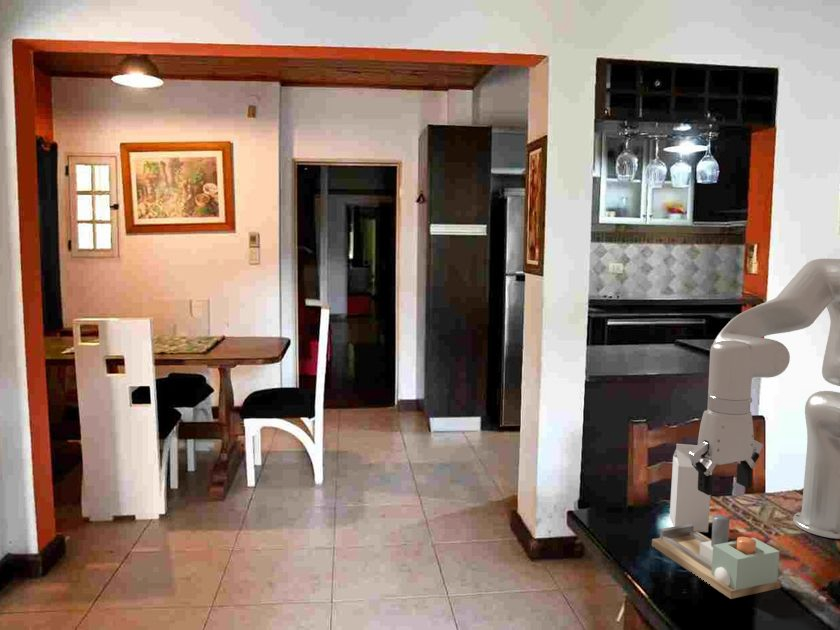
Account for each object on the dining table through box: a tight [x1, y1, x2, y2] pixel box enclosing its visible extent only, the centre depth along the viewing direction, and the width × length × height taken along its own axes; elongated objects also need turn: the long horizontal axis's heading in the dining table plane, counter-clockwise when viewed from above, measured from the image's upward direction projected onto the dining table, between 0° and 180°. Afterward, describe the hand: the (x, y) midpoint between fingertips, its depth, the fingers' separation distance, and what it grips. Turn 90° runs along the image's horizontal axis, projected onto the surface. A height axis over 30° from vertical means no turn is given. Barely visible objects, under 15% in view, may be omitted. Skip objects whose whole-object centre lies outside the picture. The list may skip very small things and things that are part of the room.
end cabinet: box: [711, 537, 780, 599], centre depth 126 cm, size 10×6×8 cm, turn 109°
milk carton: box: [669, 443, 713, 533], centre depth 152 cm, size 7×7×19 cm
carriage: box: [699, 514, 731, 564], centre depth 132 cm, size 5×5×9 cm
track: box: [651, 524, 782, 600], centre depth 134 cm, size 12×22×4 cm, turn 19°
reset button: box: [736, 536, 756, 555], centre depth 126 cm, size 3×3×3 cm
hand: (724, 489), depth 131 cm, fingers open, 9 cm apart
